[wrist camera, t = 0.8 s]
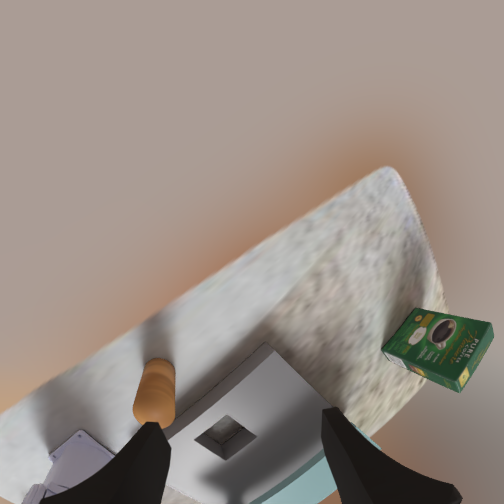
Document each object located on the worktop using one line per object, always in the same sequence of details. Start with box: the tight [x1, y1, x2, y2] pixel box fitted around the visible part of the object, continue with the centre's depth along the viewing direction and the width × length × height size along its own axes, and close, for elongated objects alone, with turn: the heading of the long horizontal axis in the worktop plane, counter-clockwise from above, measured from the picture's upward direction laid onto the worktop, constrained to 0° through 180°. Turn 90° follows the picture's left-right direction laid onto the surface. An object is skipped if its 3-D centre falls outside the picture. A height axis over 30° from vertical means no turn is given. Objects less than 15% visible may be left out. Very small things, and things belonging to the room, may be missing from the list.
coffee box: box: [382, 308, 494, 393], centre depth 26 cm, size 8×3×13 cm, turn 129°
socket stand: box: [162, 342, 381, 504], centre depth 22 cm, size 20×16×8 cm
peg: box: [133, 358, 176, 429], centre depth 21 cm, size 3×3×8 cm
